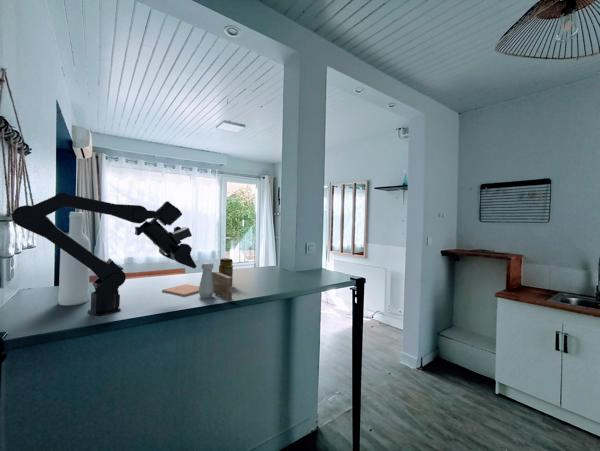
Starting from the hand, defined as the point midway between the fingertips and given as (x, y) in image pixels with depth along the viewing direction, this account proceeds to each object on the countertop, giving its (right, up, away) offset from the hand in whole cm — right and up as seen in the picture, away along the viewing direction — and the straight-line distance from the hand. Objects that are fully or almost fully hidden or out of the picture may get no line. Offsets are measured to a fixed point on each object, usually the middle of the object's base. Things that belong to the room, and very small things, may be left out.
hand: (190, 265), depth 103 cm
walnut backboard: (+9, -13, +8) cm, 17 cm away
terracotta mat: (-7, -12, +12) cm, 18 cm away
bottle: (-35, -11, -9) cm, 38 cm away
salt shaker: (+4, -13, +4) cm, 14 cm away
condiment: (+6, -13, +23) cm, 27 cm away
